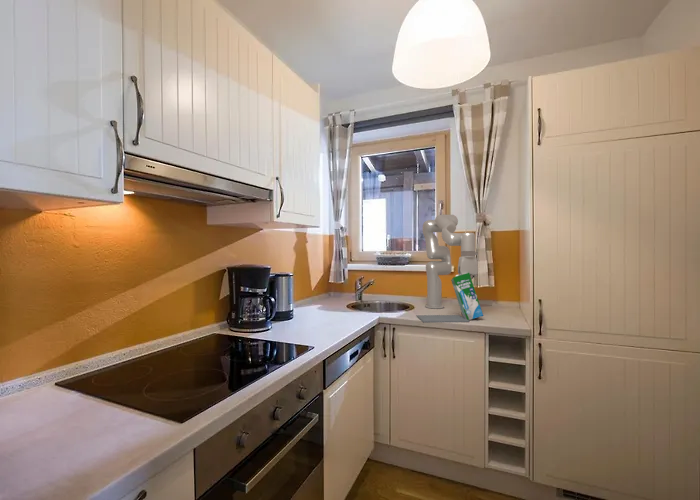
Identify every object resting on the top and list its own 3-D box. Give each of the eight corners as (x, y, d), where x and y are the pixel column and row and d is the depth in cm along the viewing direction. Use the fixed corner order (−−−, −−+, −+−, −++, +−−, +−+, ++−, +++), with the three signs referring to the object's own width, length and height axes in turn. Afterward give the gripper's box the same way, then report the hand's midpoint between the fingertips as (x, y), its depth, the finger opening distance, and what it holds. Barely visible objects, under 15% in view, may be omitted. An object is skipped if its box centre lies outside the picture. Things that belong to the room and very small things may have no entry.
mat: (416, 316, 188) (416, 315, 188) (458, 316, 189) (458, 314, 189) (423, 322, 172) (423, 320, 172) (469, 322, 173) (469, 320, 173)
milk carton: (478, 312, 185) (465, 271, 186) (483, 315, 176) (469, 272, 177) (463, 317, 186) (449, 276, 187) (467, 320, 177) (453, 277, 178)
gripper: (478, 254, 185) (478, 286, 185) (452, 254, 185) (452, 286, 184) (484, 254, 178) (484, 287, 177) (457, 254, 177) (457, 287, 177)
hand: (468, 287), depth 181 cm, fingers closed
